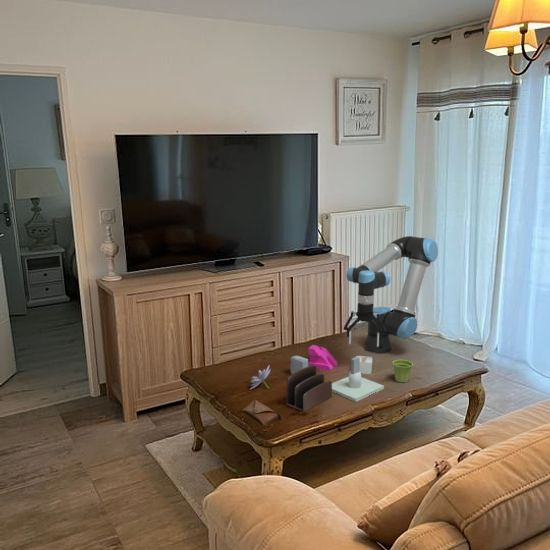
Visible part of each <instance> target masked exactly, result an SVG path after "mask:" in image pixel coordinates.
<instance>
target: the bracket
mask: <svg viewBox="0 0 550 550" xmlns="http://www.w3.org/2000/svg"><path fill="white" fill-rule="evenodd" d="M308 355H309V361H308V366H312V365H316V366H317V370H322V369H323V371H328V370H329V371H328V372H331V371H333V369H334V367H337V365H338V362H339V361H337V360H336V359H335V357H334V356H333V355H332V354H331V353H330V352H329V350H328V349H327V348H326V347H323V346H319V345H315V344H311V346H309V347H308Z"/></svg>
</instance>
